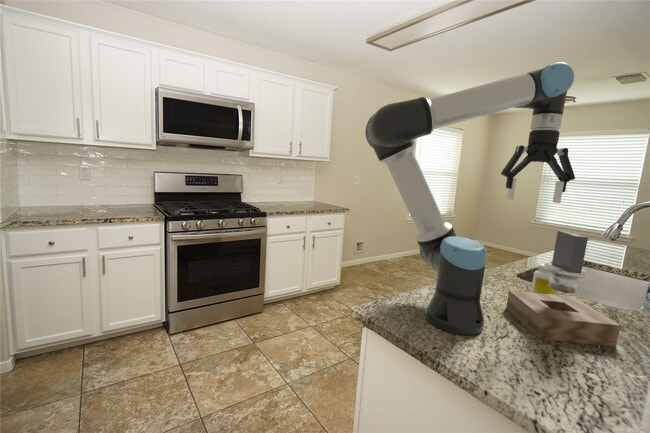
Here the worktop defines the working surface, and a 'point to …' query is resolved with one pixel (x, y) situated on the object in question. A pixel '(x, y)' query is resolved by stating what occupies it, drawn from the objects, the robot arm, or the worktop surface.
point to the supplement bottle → (541, 281)
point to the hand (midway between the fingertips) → (533, 201)
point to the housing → (562, 319)
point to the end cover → (567, 262)
